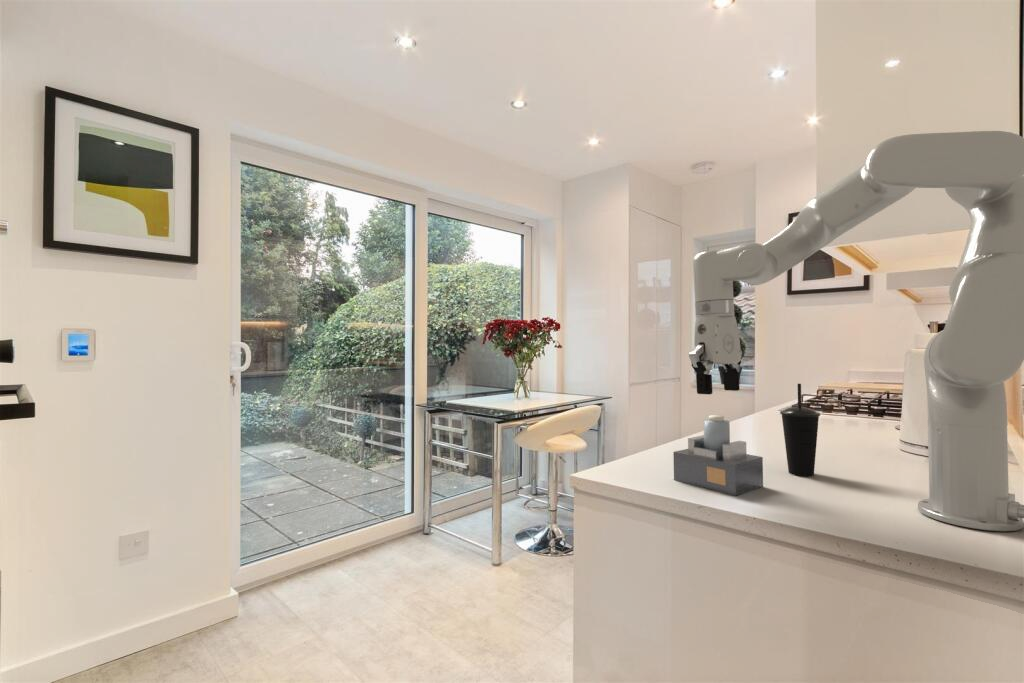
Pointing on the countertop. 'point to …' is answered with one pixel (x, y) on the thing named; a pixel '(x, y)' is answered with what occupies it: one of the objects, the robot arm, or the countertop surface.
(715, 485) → the grey labeled bracket block
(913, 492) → the countertop surface
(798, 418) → the drinking cup
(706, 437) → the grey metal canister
